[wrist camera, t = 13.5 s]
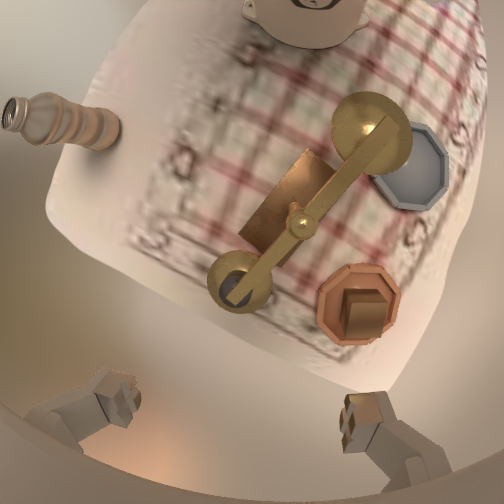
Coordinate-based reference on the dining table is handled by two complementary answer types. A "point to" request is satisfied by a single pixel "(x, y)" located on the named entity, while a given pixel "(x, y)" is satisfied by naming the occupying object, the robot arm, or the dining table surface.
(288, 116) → the dining table surface
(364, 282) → the terracotta dish
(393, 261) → the dining table surface
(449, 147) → the dining table surface
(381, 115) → the brass balance
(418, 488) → the robot arm
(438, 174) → the slate dish
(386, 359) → the dining table surface
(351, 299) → the walnut block
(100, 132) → the plastic bottle
